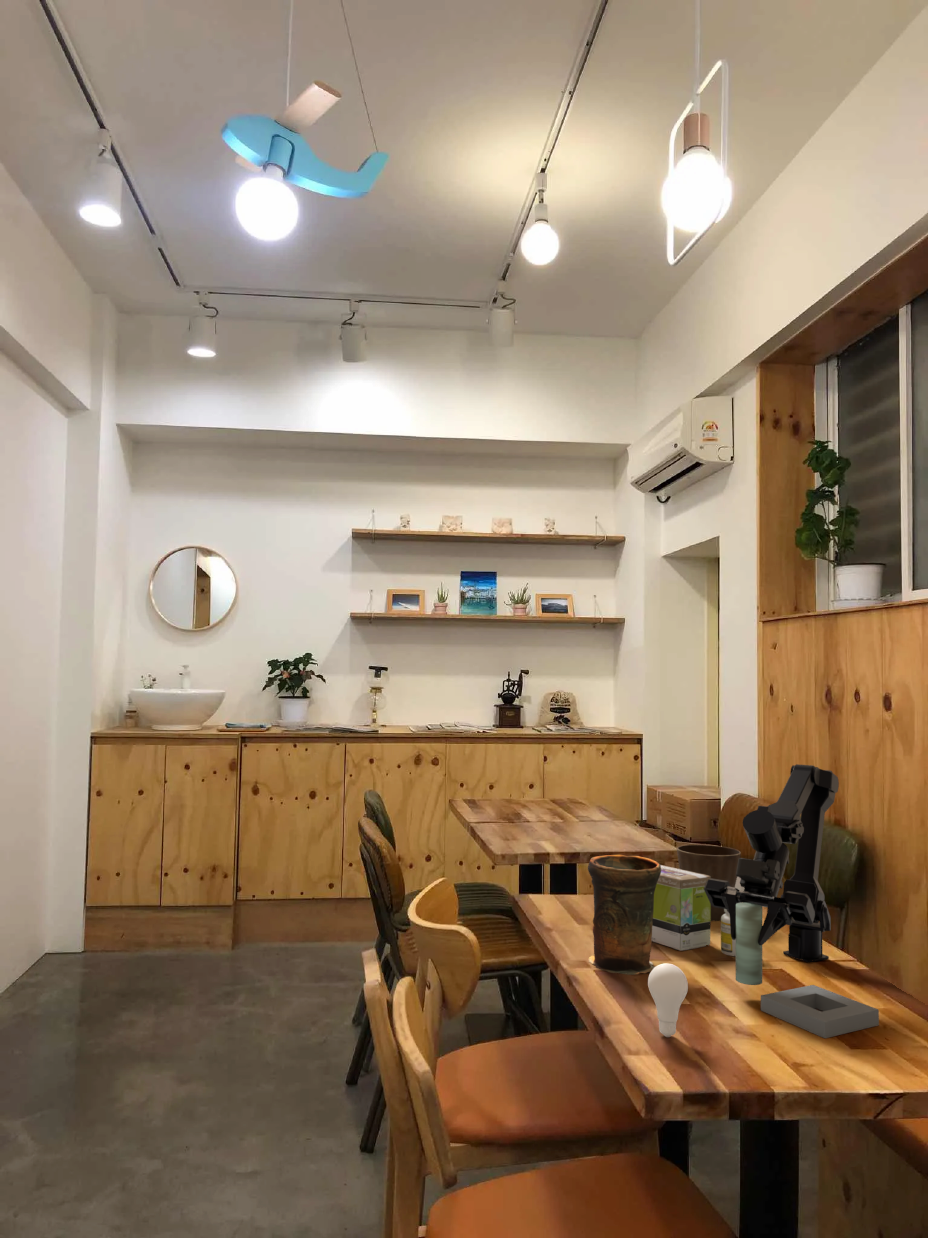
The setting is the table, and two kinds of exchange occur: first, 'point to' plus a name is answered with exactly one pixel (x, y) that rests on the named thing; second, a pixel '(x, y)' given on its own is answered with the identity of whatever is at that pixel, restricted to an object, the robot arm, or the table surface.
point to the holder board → (831, 1022)
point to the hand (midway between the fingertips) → (746, 941)
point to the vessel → (623, 912)
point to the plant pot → (710, 865)
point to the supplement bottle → (727, 936)
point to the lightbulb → (667, 995)
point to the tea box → (681, 910)
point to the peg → (748, 943)
